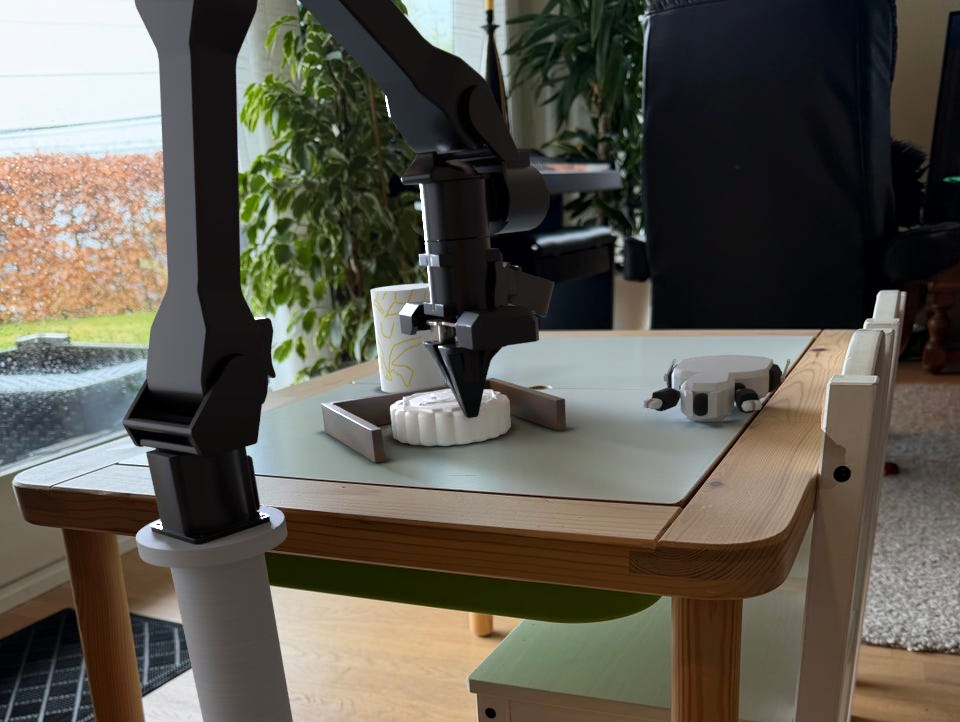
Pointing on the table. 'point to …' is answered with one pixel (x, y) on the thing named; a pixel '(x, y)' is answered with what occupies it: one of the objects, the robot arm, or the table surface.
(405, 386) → the cup
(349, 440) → the frame
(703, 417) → the robot toy
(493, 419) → the mooncake
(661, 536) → the table surface
